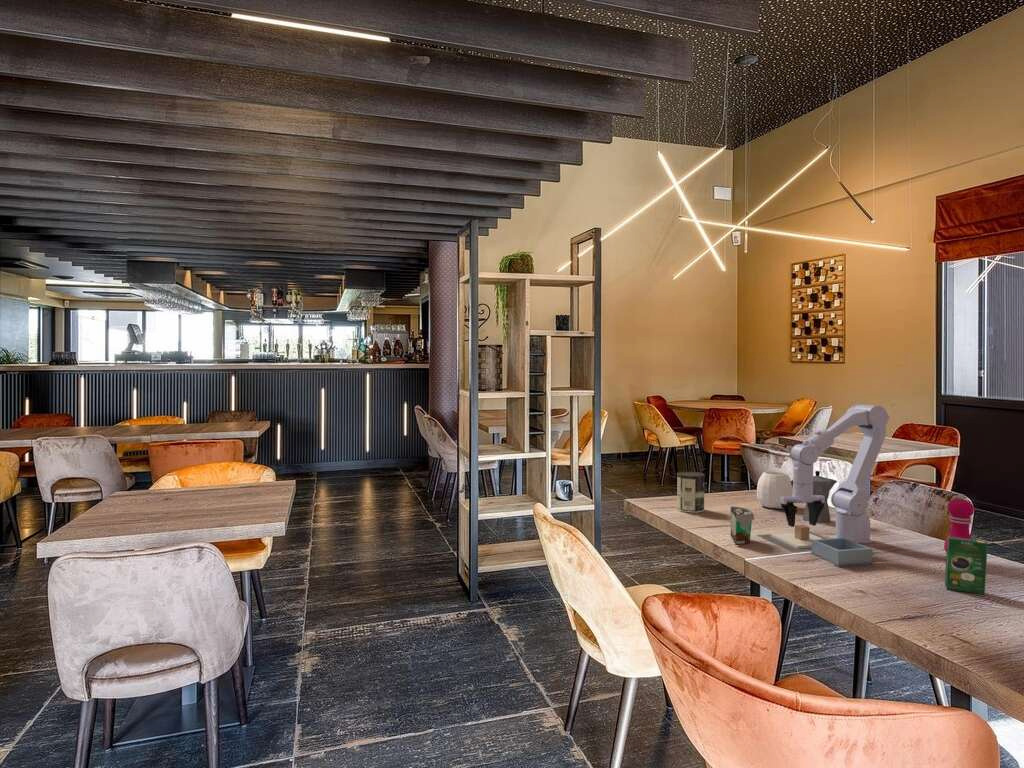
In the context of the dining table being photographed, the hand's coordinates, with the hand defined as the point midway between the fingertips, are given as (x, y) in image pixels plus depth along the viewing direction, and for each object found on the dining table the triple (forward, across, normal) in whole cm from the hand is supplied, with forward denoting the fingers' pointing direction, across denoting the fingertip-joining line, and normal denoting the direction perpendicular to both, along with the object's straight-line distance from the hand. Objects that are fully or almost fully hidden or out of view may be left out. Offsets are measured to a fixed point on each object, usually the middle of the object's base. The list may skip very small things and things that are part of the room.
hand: (801, 525), depth 193 cm
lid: (+5, 0, 0) cm, 5 cm away
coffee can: (+6, +14, -46) cm, 48 cm away
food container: (+6, +18, -4) cm, 19 cm away
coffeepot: (+6, -22, -23) cm, 32 cm away
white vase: (+6, -21, -44) cm, 49 cm away
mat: (+5, 0, 0) cm, 5 cm away
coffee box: (+6, -13, +44) cm, 46 cm away
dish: (+5, 0, +17) cm, 18 cm away
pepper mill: (+5, -30, +27) cm, 41 cm away
